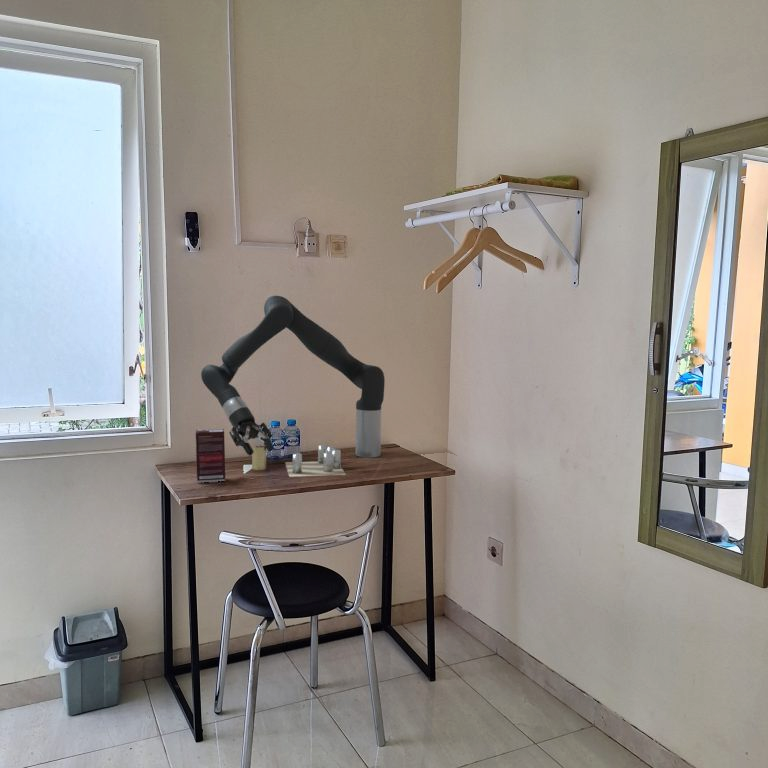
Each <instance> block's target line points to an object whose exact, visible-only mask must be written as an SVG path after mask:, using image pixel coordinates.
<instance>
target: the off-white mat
mask: <svg viewBox="0 0 768 768" xmlns="http://www.w3.org/2000/svg"><path fill="white" fill-rule="evenodd" d="M242 467H243V469H242V470H243V471H244V472H243V474H244V475H245V474H246V473H247V472H249V471H251V470H253V469H252V464H243V466H242Z"/></svg>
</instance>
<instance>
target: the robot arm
mask: <svg viewBox="0 0 768 768" xmlns="http://www.w3.org/2000/svg"><path fill="white" fill-rule="evenodd" d="M263 312H264V317H263V318H262V320H261V321H260V322H259V324H258V325H257V326H256V327H255V328H254V329H253V330H251V331H249V332H248V333H247V334H245V335H243V336H241V337H240V338H238V339H237V340H236V341H235V342H233V344H232V345H230V347H228V348H227V350H226V351H225V352H224V353H223V354H222V356H221V360H222V364H221V365H220V366H219V365H215V364H208V365H205V366H204V367H203V368H202V369H201V374H200V377H201V380H202V382H203V384H204V386H205V388H207V389H208V390H209V392H211V394H212V395H213V396H214V397H215V398H216V399H217V401H218V403H219V404H220V406H221V408H222V410H223V412H224V413H225V416H226V417H227V420H228V421H229V422H230V424H231V426H232V428H231V430H230V431H228V432H229V435H230V437H231V439H232V441H233V443H234V445H235V446H236V447H242V448H243V450H244V451H245V453H246V454H247V455H248V456H252V454H253V453H254V451H253V449H252V446H251V445H250V442H248V441H249V440H257V441H261V442H262V443H263V445H264V446H266V451H268V452H272V451H273V449H274V444H273V443H272V442H271V438H273V434H272V432H271V430H270V429H269V428H268V427H267V424H266V423H265V422H262V423H261V424H258V423H256V421H255V420H256V419H255V415H253V413H252V412H251V410H250V408H249V407H248V405H247V403H246V402H245V400H244V399H243V398H242V397H241V395H240V393H239V391H238V390H237V389H236V387H235V386H233V385H232V384H230V383H231V382H232V381H233V379H234V377H235V375H236V374H237V372H238V370H239V368H240V367H242V366H243V365H244V364H245V363H246V362H247V360H248V359H249V358H251V356H252V355H254V353H255V352H257V351H258V350H259V349H260V348H262V346H264V345H265V344H266V343H267V342H268V341H270V340H272V339H273V338H274V337H275V336H276V335H278V334H279V333H281V332H282V331H284V330H285V329H288V330H289V331H291V333H293V334H294V335H295V336H296V337H297V339H298V340H299V341H300V343H302V344H303V346H304V347H305V348H306V349H307V350H308V351H309V352H310V353H311V354H312V355H315V356H316V357H317V358H318V359H320V360H321V361H323V362H324V363H326V364H327V365H329V366H330V367H332V368H334V369H336V370H337V371H339V372H340V373H341V374H343V375H344V376H345V377H346V378H347V379H348V380H349V381H350V382H351V383H352V384H353V385H355V387H357V388H358V389H360V390H361V396H360V398H359V399H358V400H356V402H355V453H354V454H355V457H358V456H359V457H358V458H365V459H366V458H370V459H371V458H378V457H381V450H382V449H381V446H382V405H383V402H384V398H385V386H386V385H385V374H384V372H383V370H382V368H380V367H379V366H376V365H371V364H366V363H364V362H362V361H361V360H359V359H357V358H356V357H354V356H353V354H351V353H349V351H348V350H347V348H346V347H345V345H344V344H343V343H342V341H340V340H339V339H338V338H337V337H335V336H334V335H333V334H332V333H331V332H329V331H328V330H326V329H325V328H323V327H322V326H320V325H319V324H318V323H316V322H315V321H314V320H312V319H310V318H308V316H306V315H305V314H303V313H302V312H301V311H300V310H299V309H298V308H297V307H296V306H295V305H294V304H293V303H292V302H291V301H289V300H288V299H287V298H286V297H284V296H281V295H272V296H269V297H268V298H267V299H266V300H265V302H264V305H263Z"/></svg>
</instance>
